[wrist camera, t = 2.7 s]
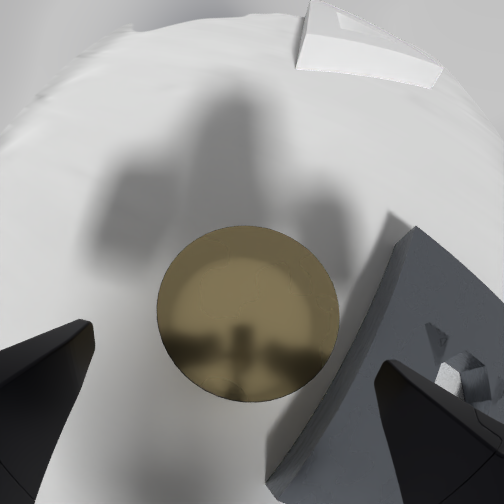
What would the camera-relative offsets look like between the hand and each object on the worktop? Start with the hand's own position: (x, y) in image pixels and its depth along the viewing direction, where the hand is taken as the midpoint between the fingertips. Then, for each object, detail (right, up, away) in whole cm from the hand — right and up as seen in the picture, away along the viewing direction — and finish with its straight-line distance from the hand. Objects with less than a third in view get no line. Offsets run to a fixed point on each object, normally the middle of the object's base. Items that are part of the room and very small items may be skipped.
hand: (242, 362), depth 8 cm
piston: (-1, -3, +9) cm, 9 cm away
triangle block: (+14, +35, +31) cm, 49 cm away
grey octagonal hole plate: (+14, -8, +9) cm, 18 cm away
